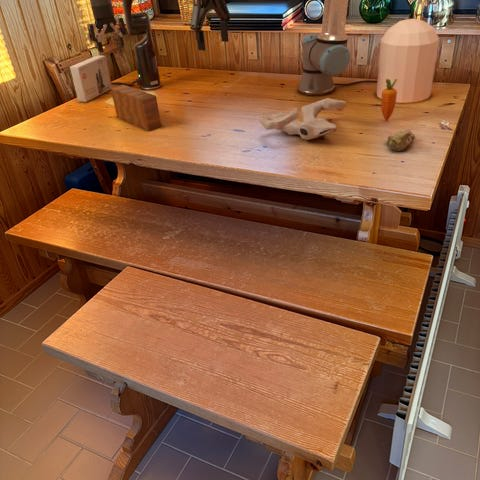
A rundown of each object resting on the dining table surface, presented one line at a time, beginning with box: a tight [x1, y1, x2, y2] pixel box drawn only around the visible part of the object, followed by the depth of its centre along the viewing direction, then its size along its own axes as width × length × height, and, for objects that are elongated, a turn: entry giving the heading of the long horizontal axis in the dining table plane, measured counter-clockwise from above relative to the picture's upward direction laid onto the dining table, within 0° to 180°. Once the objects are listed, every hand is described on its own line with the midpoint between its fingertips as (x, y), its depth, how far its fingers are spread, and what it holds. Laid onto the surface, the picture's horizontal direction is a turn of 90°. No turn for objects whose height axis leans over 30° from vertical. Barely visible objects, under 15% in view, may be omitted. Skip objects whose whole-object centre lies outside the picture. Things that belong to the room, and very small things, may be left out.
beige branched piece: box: [259, 97, 347, 141], centre depth 160 cm, size 28×26×12 cm
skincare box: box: [69, 54, 113, 103], centre depth 218 cm, size 21×6×16 cm, turn 158°
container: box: [375, 18, 440, 104], centre depth 179 cm, size 21×21×28 cm
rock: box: [387, 129, 416, 152], centre depth 146 cm, size 11×6×10 cm
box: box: [110, 84, 162, 132], centre depth 184 cm, size 25×6×12 cm, turn 41°
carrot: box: [380, 79, 397, 122], centre depth 161 cm, size 5×5×15 cm
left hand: (111, 49), depth 178 cm, fingers open, 8 cm apart
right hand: (213, 45), depth 168 cm, fingers open, 13 cm apart
